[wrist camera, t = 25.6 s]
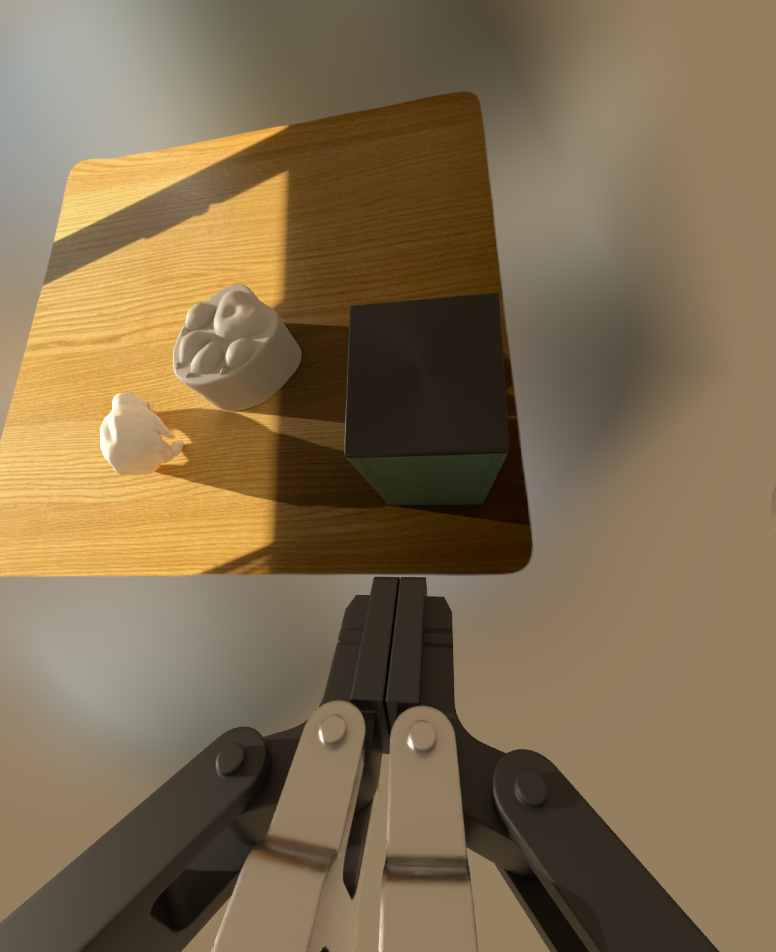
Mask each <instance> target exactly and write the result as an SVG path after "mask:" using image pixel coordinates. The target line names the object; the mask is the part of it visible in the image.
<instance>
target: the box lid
mask: <svg viewBox="0 0 776 952" xmlns="http://www.w3.org/2000/svg"><path fill="white" fill-rule="evenodd" d="M508 451H509V434H508V418H507V403H506V388H505V372H504V357H503V342H502V327H501V311H500V296H499V293H489V294H478V295H466V296H455V297H444V298H433V299H422V300H411V301H400V302H389V303H378V304H366V305H355V306H350V321H349V346H348V371H347V396H346V421H345V446H344V455H345V457H346V458H348V459H349V458H380V457H412V456H443V455H474V454H506V453H508Z"/></svg>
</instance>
